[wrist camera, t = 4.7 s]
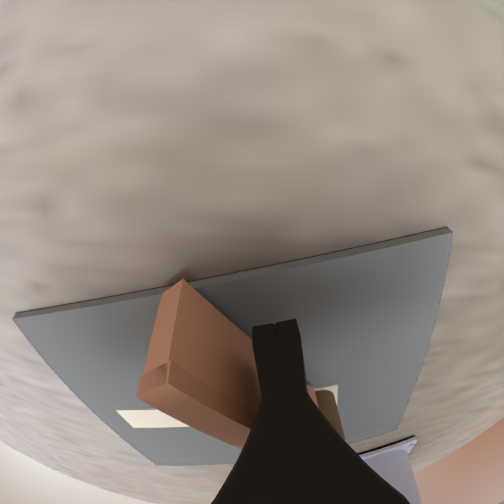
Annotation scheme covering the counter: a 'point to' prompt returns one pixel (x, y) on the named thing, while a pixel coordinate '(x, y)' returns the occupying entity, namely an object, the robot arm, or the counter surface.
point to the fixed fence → (329, 409)
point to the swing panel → (201, 368)
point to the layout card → (245, 317)
